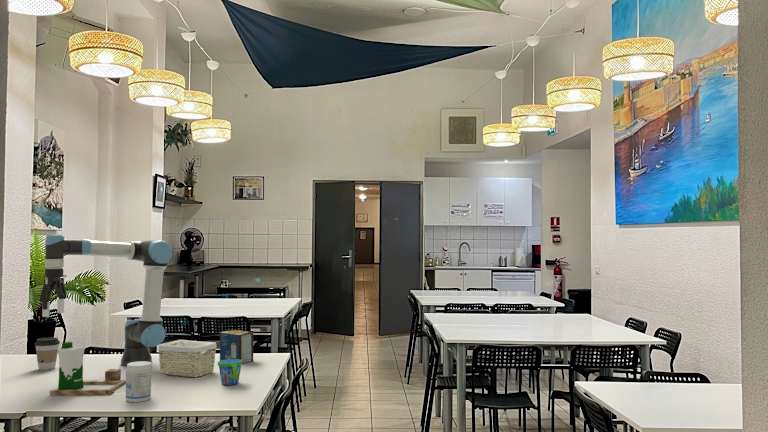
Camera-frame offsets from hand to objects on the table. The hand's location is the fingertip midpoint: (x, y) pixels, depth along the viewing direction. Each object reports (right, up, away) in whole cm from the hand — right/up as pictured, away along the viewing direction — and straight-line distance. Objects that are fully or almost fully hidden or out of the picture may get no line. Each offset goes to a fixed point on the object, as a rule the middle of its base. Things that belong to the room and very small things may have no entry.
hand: (53, 314), depth 279 cm
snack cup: (+82, -31, -4) cm, 87 cm away
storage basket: (+55, -32, +18) cm, 66 cm away
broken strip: (+22, -31, -3) cm, 38 cm away
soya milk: (+16, -30, -16) cm, 38 cm away
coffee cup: (-19, -32, +28) cm, 47 cm away
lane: (+23, -30, -16) cm, 41 cm away
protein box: (+72, -33, +47) cm, 93 cm away
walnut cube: (+28, -30, -2) cm, 41 cm away
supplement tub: (+51, -30, -31) cm, 67 cm away
